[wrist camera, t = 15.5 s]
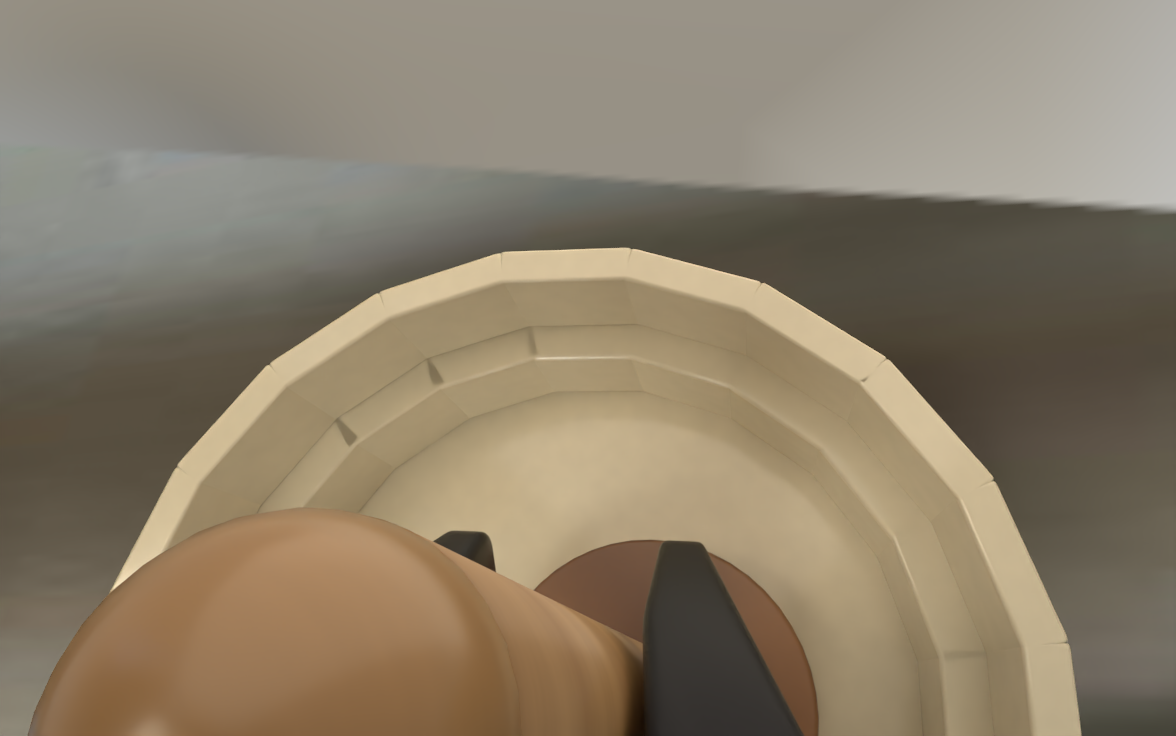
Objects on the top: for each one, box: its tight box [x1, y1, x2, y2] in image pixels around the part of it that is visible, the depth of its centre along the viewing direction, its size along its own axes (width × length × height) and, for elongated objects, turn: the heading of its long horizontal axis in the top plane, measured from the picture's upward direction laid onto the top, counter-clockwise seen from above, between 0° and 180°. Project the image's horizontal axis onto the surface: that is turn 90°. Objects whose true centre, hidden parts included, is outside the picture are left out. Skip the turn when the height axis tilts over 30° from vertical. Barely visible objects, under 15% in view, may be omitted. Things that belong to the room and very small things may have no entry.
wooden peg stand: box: [28, 507, 819, 736], centre depth 9 cm, size 6×6×14 cm
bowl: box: [110, 248, 1082, 736], centre depth 14 cm, size 14×14×4 cm
